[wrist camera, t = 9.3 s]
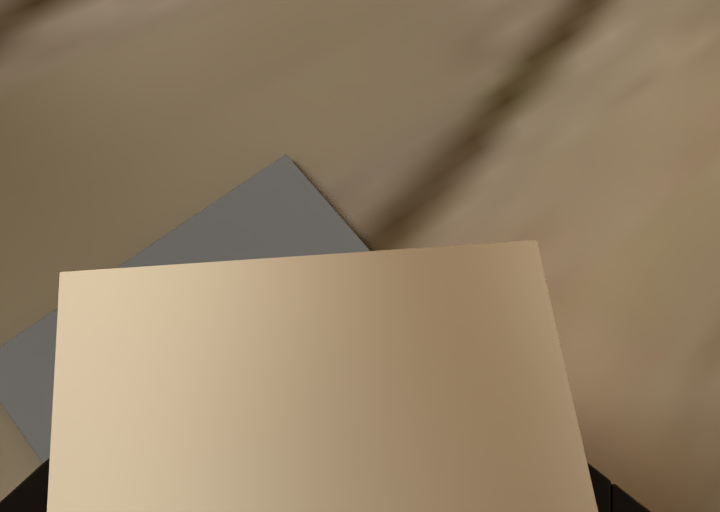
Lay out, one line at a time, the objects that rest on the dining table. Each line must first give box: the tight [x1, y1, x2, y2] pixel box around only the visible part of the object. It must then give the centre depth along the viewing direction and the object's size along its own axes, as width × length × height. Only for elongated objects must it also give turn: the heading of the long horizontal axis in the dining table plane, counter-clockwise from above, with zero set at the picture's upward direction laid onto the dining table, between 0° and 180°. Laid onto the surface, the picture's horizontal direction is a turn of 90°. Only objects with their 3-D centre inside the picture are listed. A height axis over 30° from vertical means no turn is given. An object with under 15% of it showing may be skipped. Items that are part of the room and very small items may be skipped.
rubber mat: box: [0, 154, 370, 463], centre depth 20 cm, size 14×18×1 cm
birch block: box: [47, 240, 598, 512], centre depth 10 cm, size 4×4×12 cm
